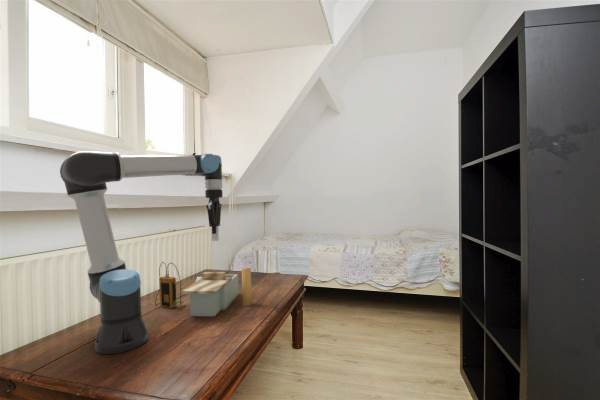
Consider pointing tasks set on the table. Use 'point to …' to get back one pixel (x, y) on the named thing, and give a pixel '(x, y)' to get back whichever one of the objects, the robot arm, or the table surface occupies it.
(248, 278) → the long wooden block
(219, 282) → the lid
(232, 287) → the toolbox
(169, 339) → the table surface
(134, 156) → the robot arm
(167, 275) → the multimeter
